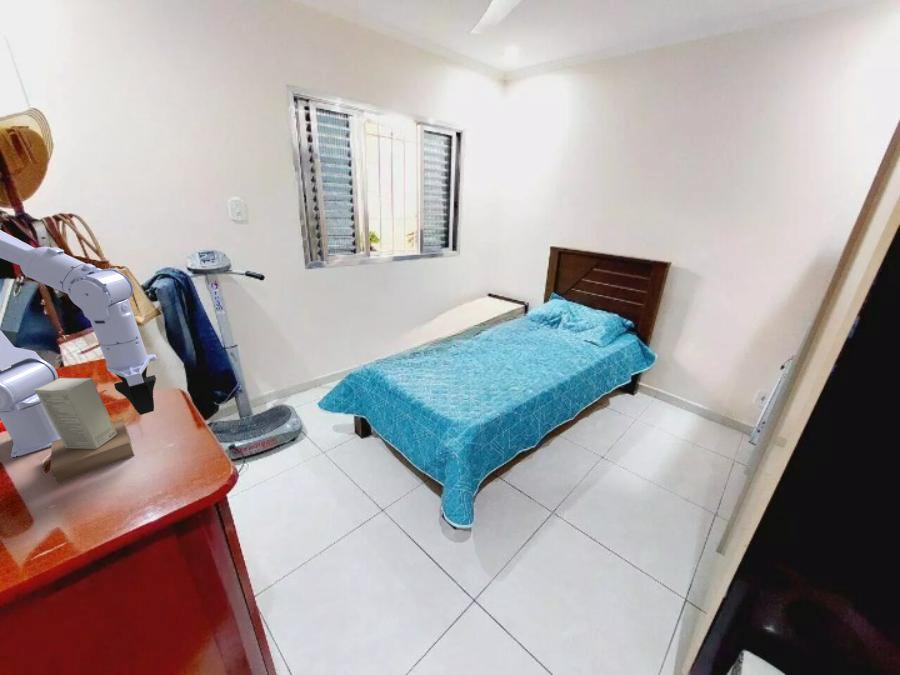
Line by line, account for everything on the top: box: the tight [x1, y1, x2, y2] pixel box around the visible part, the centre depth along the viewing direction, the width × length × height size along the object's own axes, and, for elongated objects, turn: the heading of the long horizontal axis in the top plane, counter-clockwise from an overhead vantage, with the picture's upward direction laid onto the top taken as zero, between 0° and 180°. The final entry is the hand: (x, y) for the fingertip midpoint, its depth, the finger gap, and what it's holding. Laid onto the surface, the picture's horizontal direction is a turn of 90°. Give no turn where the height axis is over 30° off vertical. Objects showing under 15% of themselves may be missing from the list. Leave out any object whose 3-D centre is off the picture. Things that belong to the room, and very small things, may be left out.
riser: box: [49, 419, 135, 485], centre depth 66 cm, size 10×10×3 cm
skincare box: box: [35, 377, 117, 449], centre depth 63 cm, size 6×4×12 cm
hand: (144, 404), depth 70 cm, fingers open, 7 cm apart
